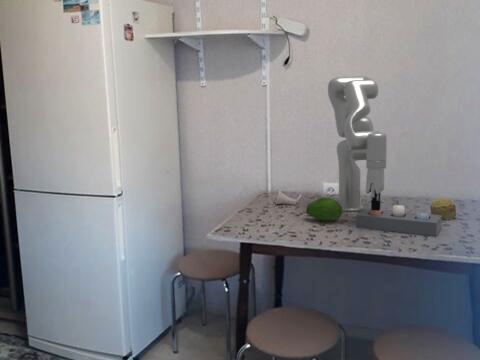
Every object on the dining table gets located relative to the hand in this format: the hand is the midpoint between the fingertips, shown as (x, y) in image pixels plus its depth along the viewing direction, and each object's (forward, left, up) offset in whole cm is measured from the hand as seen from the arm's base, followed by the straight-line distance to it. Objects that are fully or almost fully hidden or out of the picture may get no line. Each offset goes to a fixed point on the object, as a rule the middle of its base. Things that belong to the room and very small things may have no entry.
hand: (375, 209), depth 196 cm
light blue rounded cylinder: (+18, 0, -5) cm, 19 cm away
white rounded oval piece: (+9, 0, -3) cm, 9 cm away
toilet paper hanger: (-50, +26, -7) cm, 57 cm away
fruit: (-21, -2, -7) cm, 22 cm away
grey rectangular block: (+9, 0, -6) cm, 11 cm away
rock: (+22, +22, -7) cm, 32 cm away
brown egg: (0, 0, -5) cm, 5 cm away
